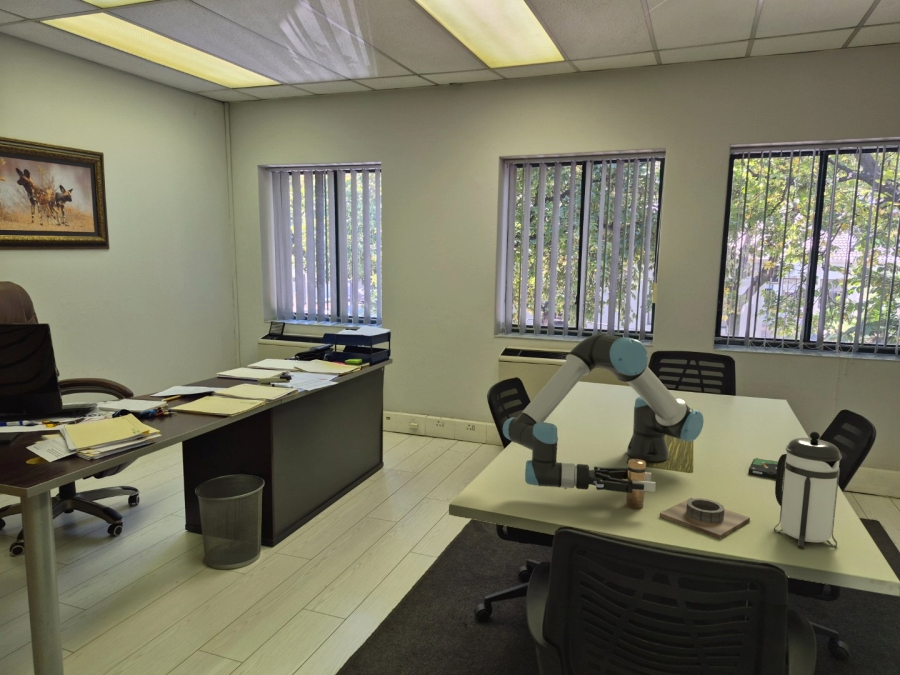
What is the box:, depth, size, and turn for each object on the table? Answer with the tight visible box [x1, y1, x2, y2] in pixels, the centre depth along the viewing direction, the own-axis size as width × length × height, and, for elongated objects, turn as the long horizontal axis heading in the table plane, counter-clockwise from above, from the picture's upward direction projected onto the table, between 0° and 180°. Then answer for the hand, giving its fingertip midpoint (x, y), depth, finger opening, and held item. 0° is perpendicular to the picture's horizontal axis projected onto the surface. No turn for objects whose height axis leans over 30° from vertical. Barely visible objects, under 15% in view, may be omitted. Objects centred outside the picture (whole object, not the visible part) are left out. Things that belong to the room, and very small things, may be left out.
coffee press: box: [773, 431, 843, 550], centre depth 162 cm, size 17×16×30 cm
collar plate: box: [659, 497, 751, 540], centre depth 174 cm, size 18×18×4 cm
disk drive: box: [747, 457, 785, 480], centre depth 215 cm, size 10×3×15 cm
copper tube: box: [625, 458, 647, 510], centre depth 182 cm, size 5×5×14 cm
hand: (652, 482), depth 181 cm, fingers open, 7 cm apart
